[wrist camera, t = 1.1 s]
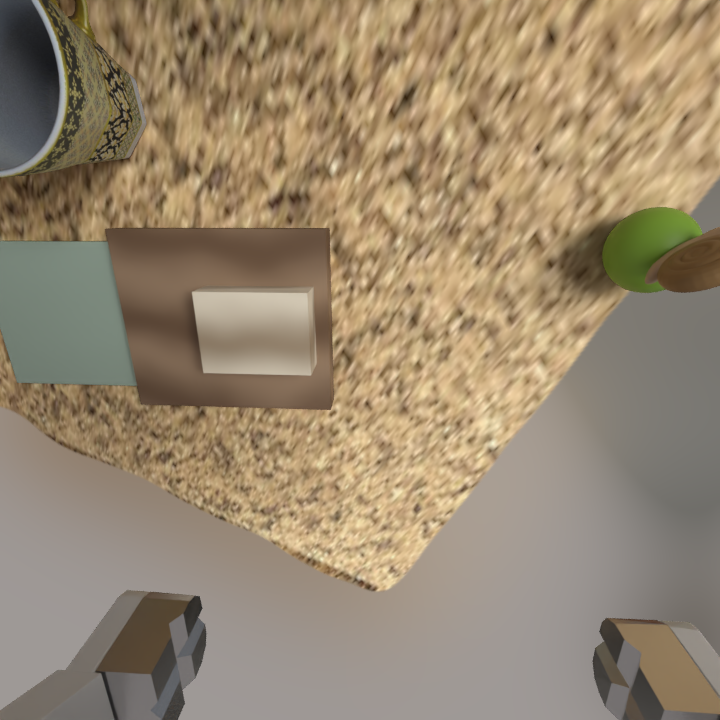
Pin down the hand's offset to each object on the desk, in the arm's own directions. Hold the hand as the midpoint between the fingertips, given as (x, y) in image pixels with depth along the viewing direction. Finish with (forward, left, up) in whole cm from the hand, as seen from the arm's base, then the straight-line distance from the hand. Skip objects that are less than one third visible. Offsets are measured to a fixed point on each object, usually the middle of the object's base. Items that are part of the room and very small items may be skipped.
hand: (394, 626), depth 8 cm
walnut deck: (0, -13, -26) cm, 29 cm away
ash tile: (0, -10, -24) cm, 25 cm away
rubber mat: (0, -27, -26) cm, 37 cm away
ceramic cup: (-16, -20, -26) cm, 36 cm away
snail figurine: (-6, +17, -26) cm, 32 cm away
